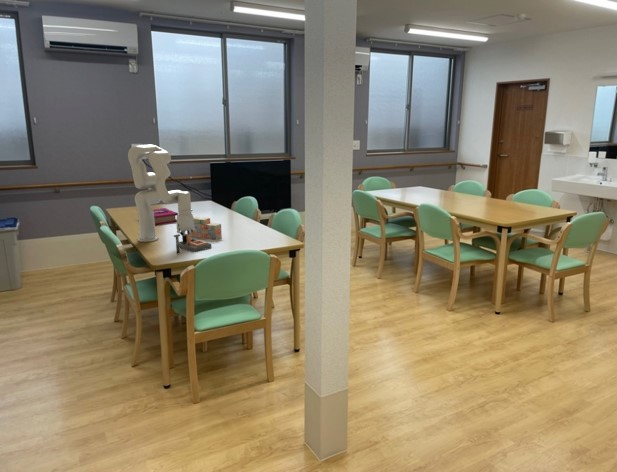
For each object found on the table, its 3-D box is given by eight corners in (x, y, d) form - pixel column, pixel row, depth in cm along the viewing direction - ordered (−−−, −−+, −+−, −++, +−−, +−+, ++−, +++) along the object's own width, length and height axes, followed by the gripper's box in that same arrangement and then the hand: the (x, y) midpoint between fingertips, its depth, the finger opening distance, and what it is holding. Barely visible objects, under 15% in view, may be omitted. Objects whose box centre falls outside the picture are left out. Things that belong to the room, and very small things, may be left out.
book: (151, 226, 342) (150, 216, 341) (139, 220, 364) (138, 210, 362) (179, 222, 355) (178, 212, 353) (165, 216, 376) (165, 207, 374)
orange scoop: (182, 244, 284) (181, 235, 283) (192, 242, 289) (191, 232, 288) (197, 249, 275) (196, 239, 273) (206, 247, 280) (206, 237, 279)
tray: (176, 246, 284) (175, 242, 284) (193, 242, 293) (193, 238, 293) (194, 251, 272) (193, 247, 272) (211, 247, 282) (211, 243, 281)
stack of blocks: (222, 237, 305) (221, 219, 302) (215, 239, 300) (214, 221, 297) (197, 234, 316) (196, 216, 313) (190, 236, 310) (189, 218, 307)
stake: (175, 253, 269) (173, 235, 266) (180, 252, 271) (178, 234, 269) (176, 254, 268) (175, 235, 265) (181, 252, 270) (180, 234, 268)
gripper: (192, 209, 290) (194, 237, 295) (169, 213, 279) (171, 242, 283) (199, 210, 286) (201, 239, 290) (176, 214, 274) (179, 245, 278)
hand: (186, 241), depth 287 cm, fingers closed on orange scoop
